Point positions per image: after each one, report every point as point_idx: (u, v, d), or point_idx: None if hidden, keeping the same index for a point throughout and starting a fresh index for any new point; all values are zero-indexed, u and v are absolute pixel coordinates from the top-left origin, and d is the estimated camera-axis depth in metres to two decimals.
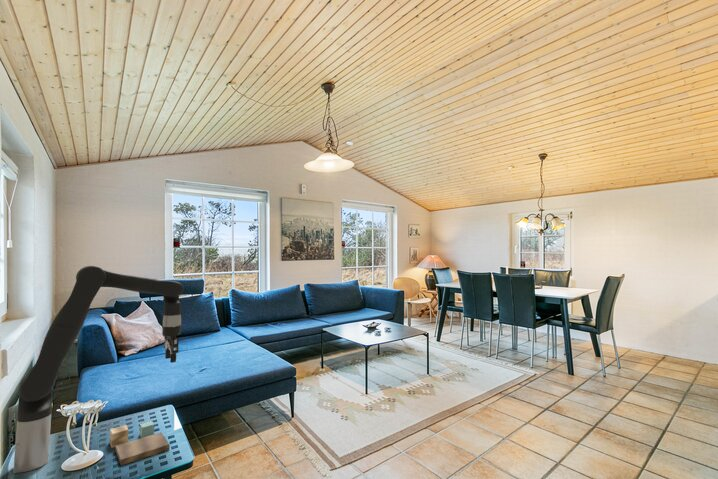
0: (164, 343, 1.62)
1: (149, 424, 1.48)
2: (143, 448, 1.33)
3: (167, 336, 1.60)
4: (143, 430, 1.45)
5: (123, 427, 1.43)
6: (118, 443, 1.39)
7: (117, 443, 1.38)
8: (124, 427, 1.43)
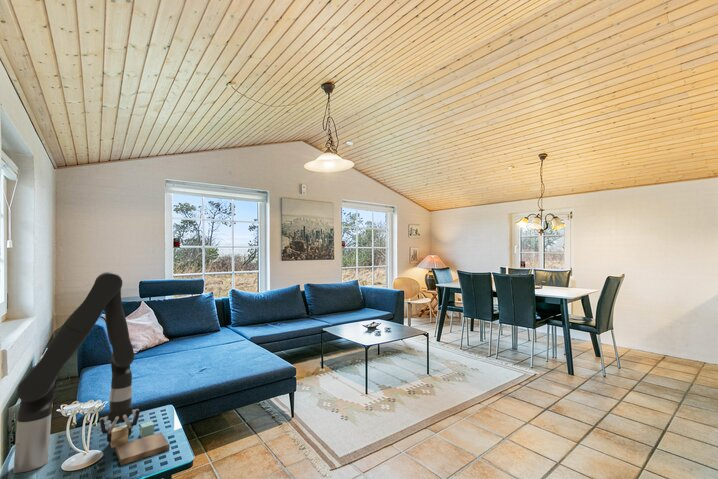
0: (102, 428, 1.37)
1: (149, 424, 1.48)
2: (143, 448, 1.33)
3: (112, 413, 1.39)
4: (143, 430, 1.45)
5: (123, 426, 1.43)
6: (118, 443, 1.39)
7: (117, 443, 1.38)
8: (124, 427, 1.43)
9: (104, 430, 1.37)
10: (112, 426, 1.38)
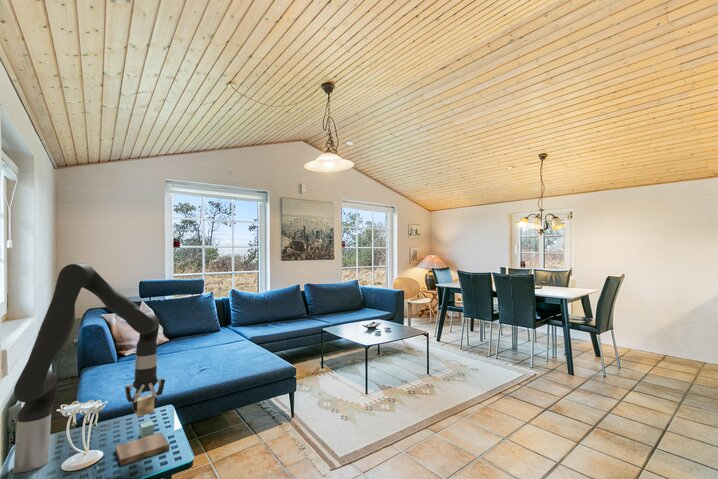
0: (128, 396, 1.32)
1: (149, 424, 1.48)
2: (143, 448, 1.33)
3: (138, 381, 1.35)
4: (143, 430, 1.45)
5: (148, 396, 1.39)
6: (144, 412, 1.34)
7: (143, 412, 1.34)
8: (149, 396, 1.39)
9: (130, 398, 1.33)
10: (138, 394, 1.34)
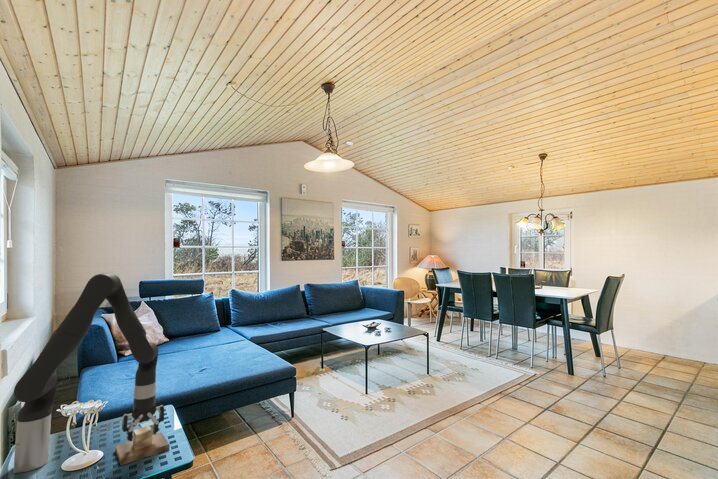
0: (124, 426, 1.31)
1: (149, 424, 1.48)
2: (143, 448, 1.33)
3: (137, 411, 1.34)
4: None
5: (146, 428, 1.38)
6: (142, 445, 1.33)
7: (141, 445, 1.33)
8: (148, 428, 1.37)
9: (125, 428, 1.31)
10: (134, 424, 1.33)
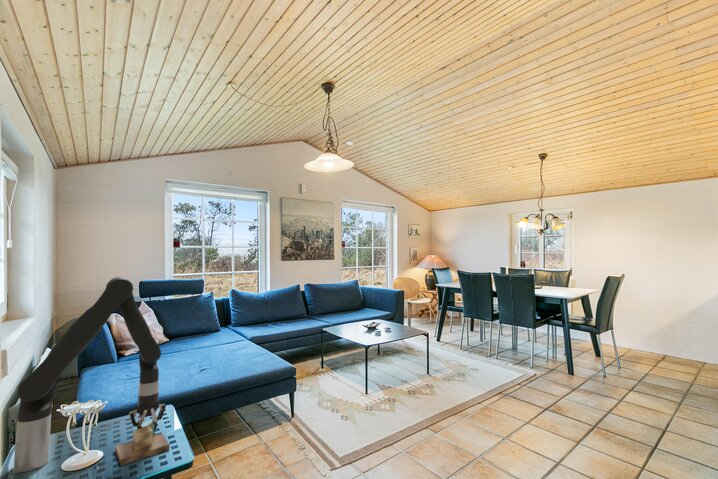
0: (133, 422, 1.44)
1: (149, 424, 1.48)
2: (143, 448, 1.33)
3: (141, 407, 1.46)
4: None
5: (146, 428, 1.38)
6: (142, 445, 1.33)
7: (141, 445, 1.33)
8: (148, 428, 1.37)
9: (135, 423, 1.44)
10: (142, 419, 1.45)
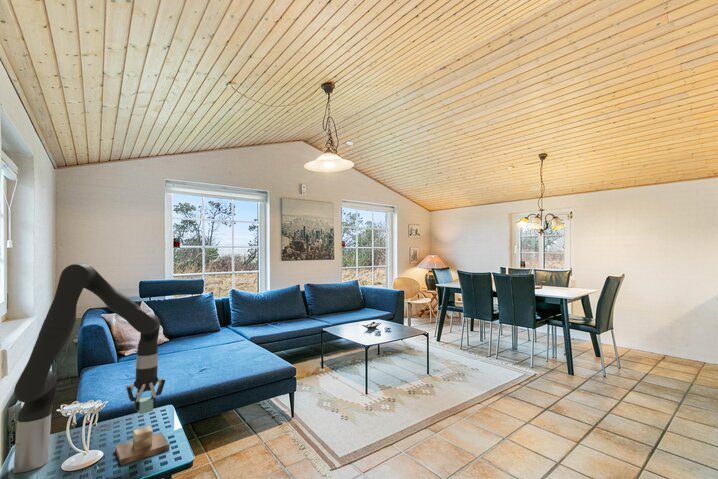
0: (130, 396, 1.34)
1: (147, 399, 1.38)
2: (143, 448, 1.33)
3: (139, 381, 1.36)
4: (141, 405, 1.35)
5: (146, 428, 1.38)
6: (142, 445, 1.33)
7: (141, 445, 1.33)
8: (148, 428, 1.37)
9: (132, 398, 1.34)
10: (140, 394, 1.36)
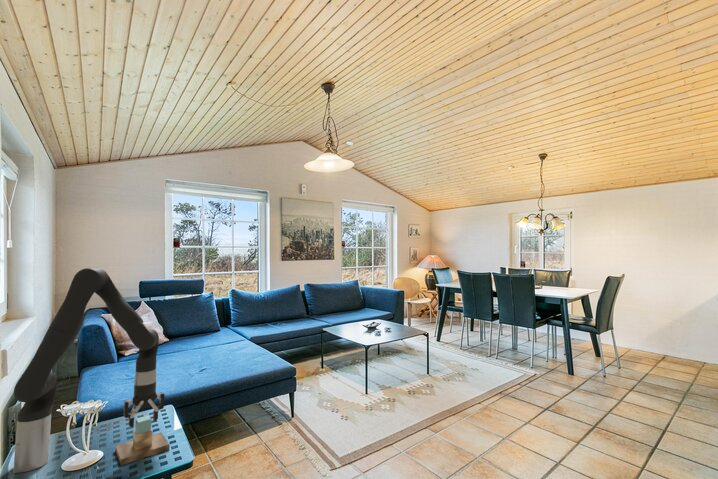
0: (125, 412, 1.31)
1: (146, 419, 1.36)
2: (143, 448, 1.33)
3: (138, 398, 1.34)
4: (139, 425, 1.33)
5: None
6: (142, 445, 1.33)
7: (141, 445, 1.33)
8: None
9: (127, 414, 1.32)
10: (135, 410, 1.33)
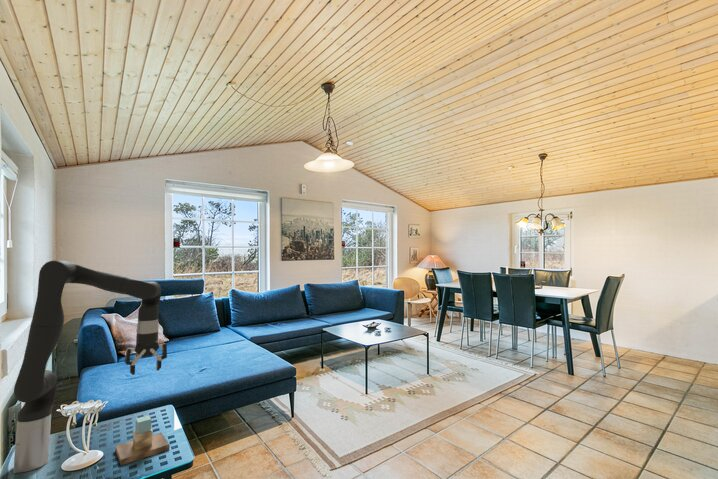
0: (127, 359, 1.33)
1: (146, 419, 1.36)
2: (143, 448, 1.33)
3: (140, 346, 1.36)
4: (139, 425, 1.33)
5: None
6: (142, 445, 1.33)
7: (141, 445, 1.33)
8: None
9: (128, 361, 1.33)
10: (137, 358, 1.34)
